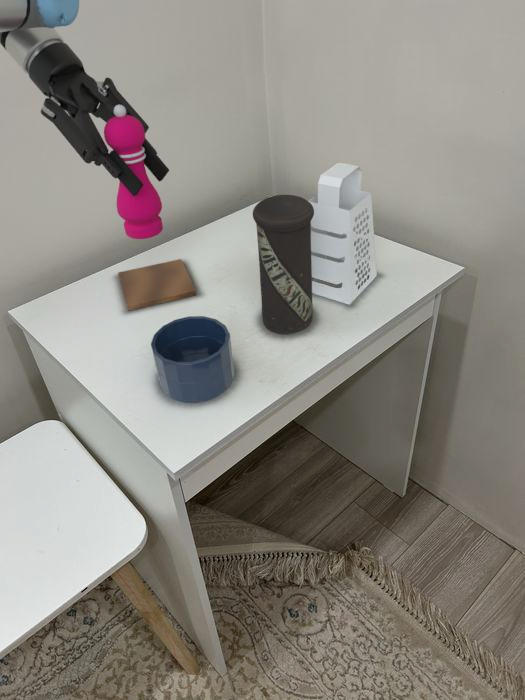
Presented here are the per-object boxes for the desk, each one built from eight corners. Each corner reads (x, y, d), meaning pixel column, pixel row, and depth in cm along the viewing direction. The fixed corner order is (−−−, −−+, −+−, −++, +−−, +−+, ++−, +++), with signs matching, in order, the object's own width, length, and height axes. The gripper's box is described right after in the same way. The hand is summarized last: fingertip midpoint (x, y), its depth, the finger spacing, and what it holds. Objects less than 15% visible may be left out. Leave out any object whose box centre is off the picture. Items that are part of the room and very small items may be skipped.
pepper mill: (152, 217, 95) (128, 95, 83) (174, 230, 91) (152, 103, 78) (115, 230, 92) (84, 105, 80) (136, 245, 88) (107, 115, 75)
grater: (376, 275, 97) (386, 164, 84) (349, 304, 90) (355, 189, 78) (325, 261, 102) (327, 154, 89) (295, 287, 95) (293, 176, 83)
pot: (168, 411, 73) (159, 372, 69) (154, 364, 81) (145, 326, 77) (243, 390, 76) (239, 352, 71) (222, 346, 84) (217, 309, 79)
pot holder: (128, 311, 93) (127, 306, 92) (119, 277, 102) (117, 272, 101) (196, 295, 95) (195, 290, 95) (181, 263, 104) (181, 258, 104)
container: (254, 333, 86) (244, 215, 73) (267, 301, 93) (260, 188, 80) (308, 338, 84) (308, 218, 71) (318, 305, 91) (319, 190, 78)
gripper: (83, 63, 90) (177, 175, 93) (-11, 92, 78) (101, 220, 81) (99, 28, 84) (198, 148, 88) (0, 53, 72) (120, 192, 76)
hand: (151, 182), depth 84 cm, fingers closed on pepper mill, 5 cm apart
